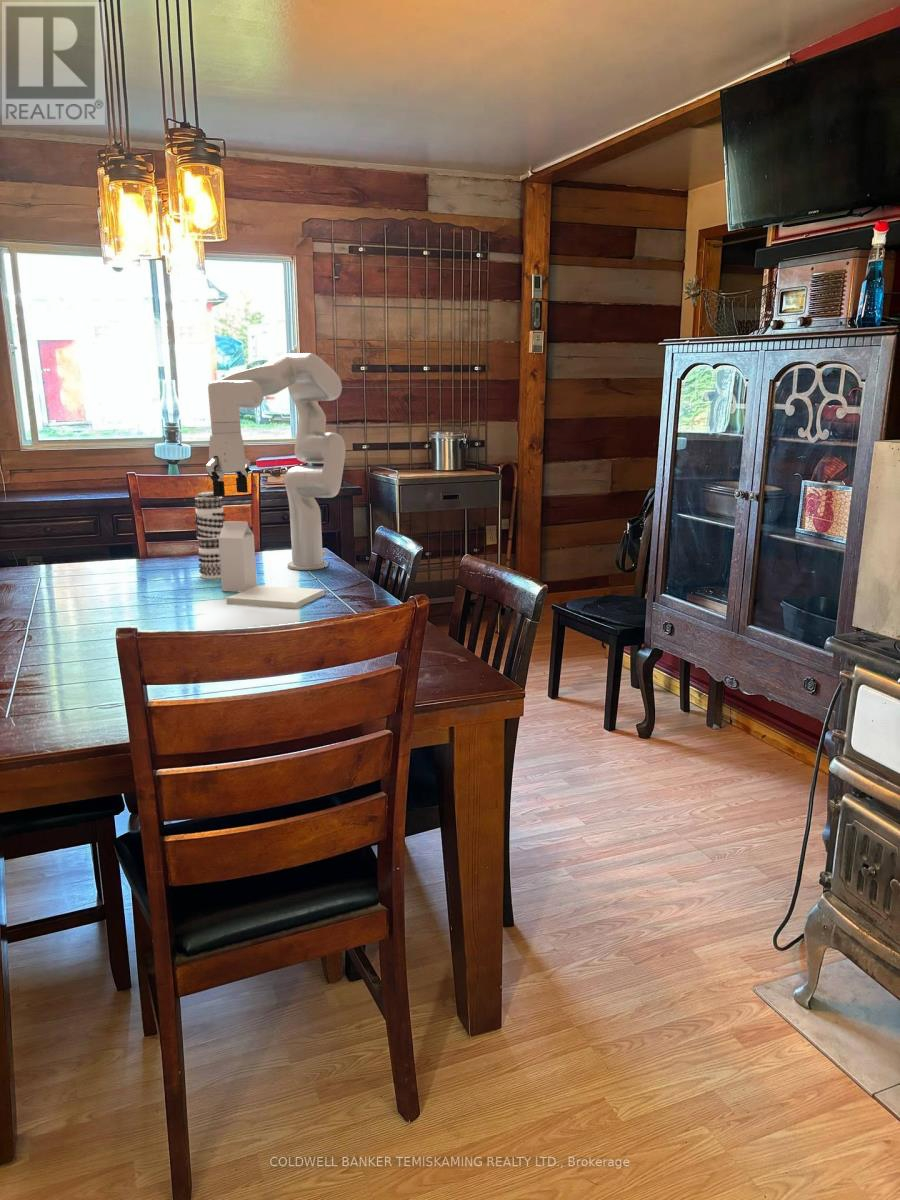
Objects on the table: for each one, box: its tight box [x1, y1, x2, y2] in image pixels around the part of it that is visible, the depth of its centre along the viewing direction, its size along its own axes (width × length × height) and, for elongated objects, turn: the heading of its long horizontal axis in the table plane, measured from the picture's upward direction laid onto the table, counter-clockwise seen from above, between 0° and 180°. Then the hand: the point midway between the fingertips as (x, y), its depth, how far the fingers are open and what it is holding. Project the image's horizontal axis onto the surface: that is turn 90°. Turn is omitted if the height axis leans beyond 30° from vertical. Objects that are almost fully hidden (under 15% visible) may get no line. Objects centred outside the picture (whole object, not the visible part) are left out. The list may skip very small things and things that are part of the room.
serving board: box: [226, 584, 325, 609], centre depth 216 cm, size 16×20×2 cm
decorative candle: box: [193, 491, 227, 579], centre depth 244 cm, size 9×9×25 cm
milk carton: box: [218, 520, 258, 593], centre depth 226 cm, size 7×7×19 cm
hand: (231, 494), depth 220 cm, fingers open, 9 cm apart
